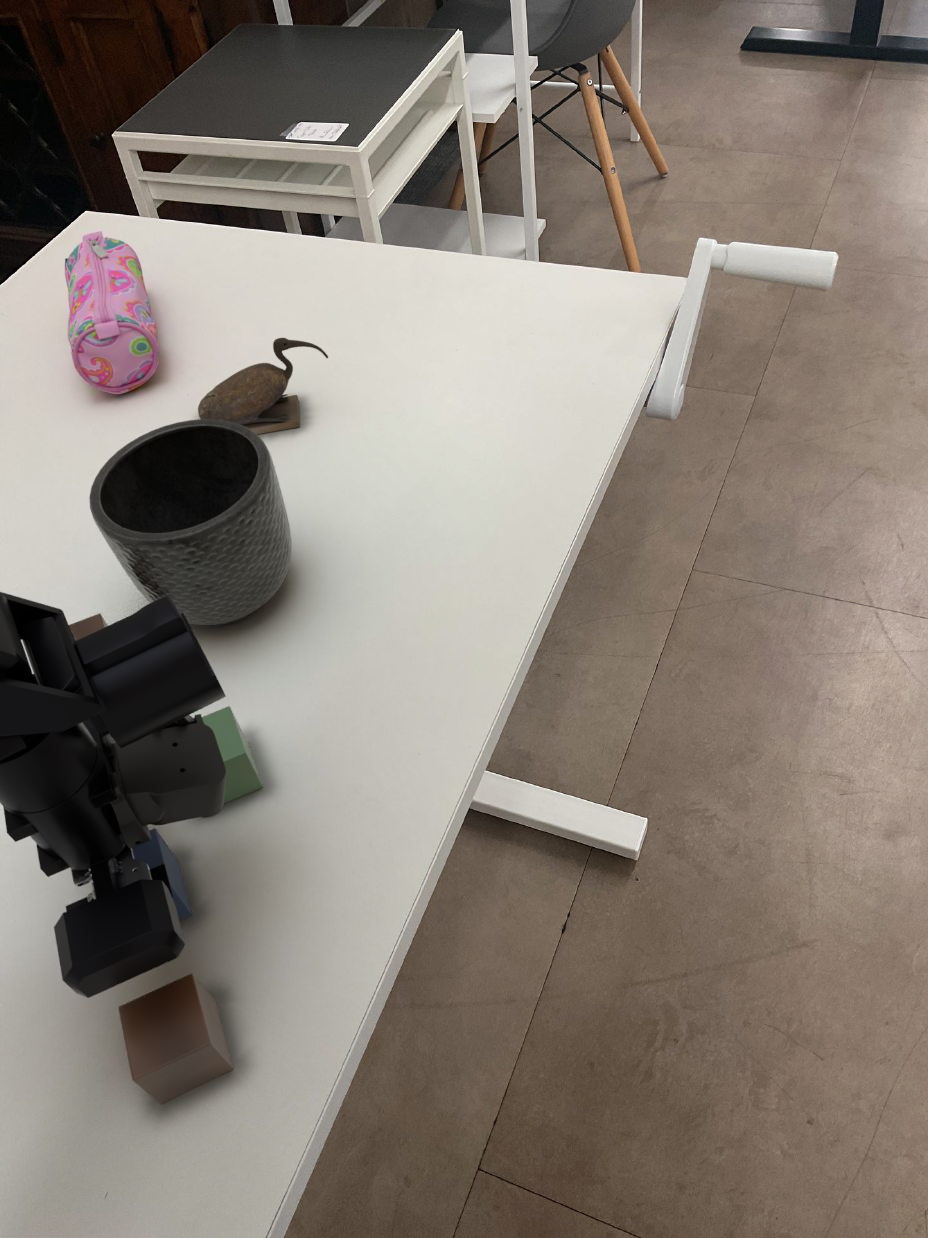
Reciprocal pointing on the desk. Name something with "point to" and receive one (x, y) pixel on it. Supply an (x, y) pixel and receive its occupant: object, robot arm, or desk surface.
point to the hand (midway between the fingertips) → (147, 895)
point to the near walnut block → (174, 1039)
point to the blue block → (161, 854)
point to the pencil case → (110, 315)
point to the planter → (197, 518)
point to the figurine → (257, 395)
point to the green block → (234, 754)
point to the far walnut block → (87, 626)
